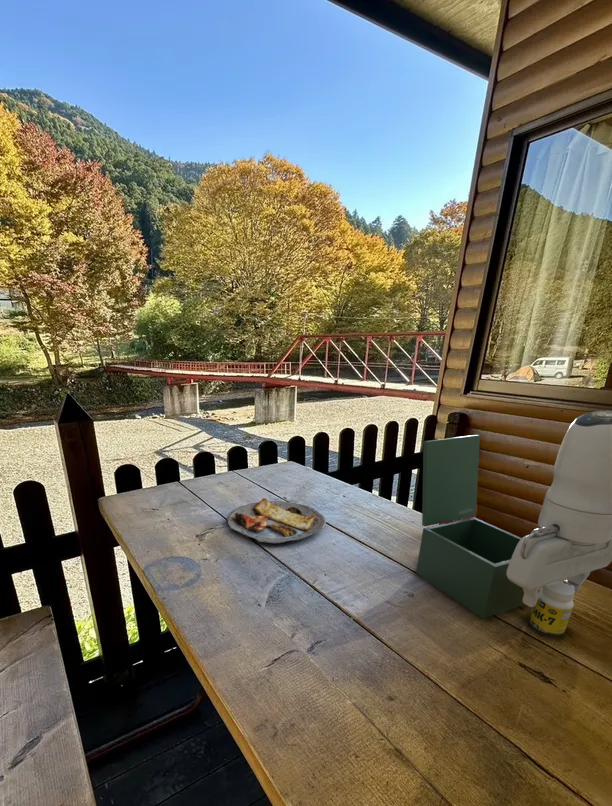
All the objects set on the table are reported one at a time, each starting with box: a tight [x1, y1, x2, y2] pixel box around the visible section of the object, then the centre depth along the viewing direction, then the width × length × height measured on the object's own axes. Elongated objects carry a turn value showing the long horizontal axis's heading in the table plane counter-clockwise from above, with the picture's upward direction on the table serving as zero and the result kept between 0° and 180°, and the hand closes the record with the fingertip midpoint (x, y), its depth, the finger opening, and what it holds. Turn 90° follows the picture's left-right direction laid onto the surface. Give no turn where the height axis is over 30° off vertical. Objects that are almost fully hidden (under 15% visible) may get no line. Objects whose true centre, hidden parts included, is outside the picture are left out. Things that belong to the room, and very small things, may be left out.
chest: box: [415, 517, 541, 619], centre depth 77 cm, size 16×14×11 cm
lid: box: [421, 434, 481, 527], centre depth 80 cm, size 16×14×1 cm
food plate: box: [226, 498, 327, 544], centre depth 106 cm, size 25×23×4 cm
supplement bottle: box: [529, 581, 576, 637], centre depth 67 cm, size 5×5×8 cm
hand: (550, 597), depth 66 cm, fingers open, 8 cm apart
